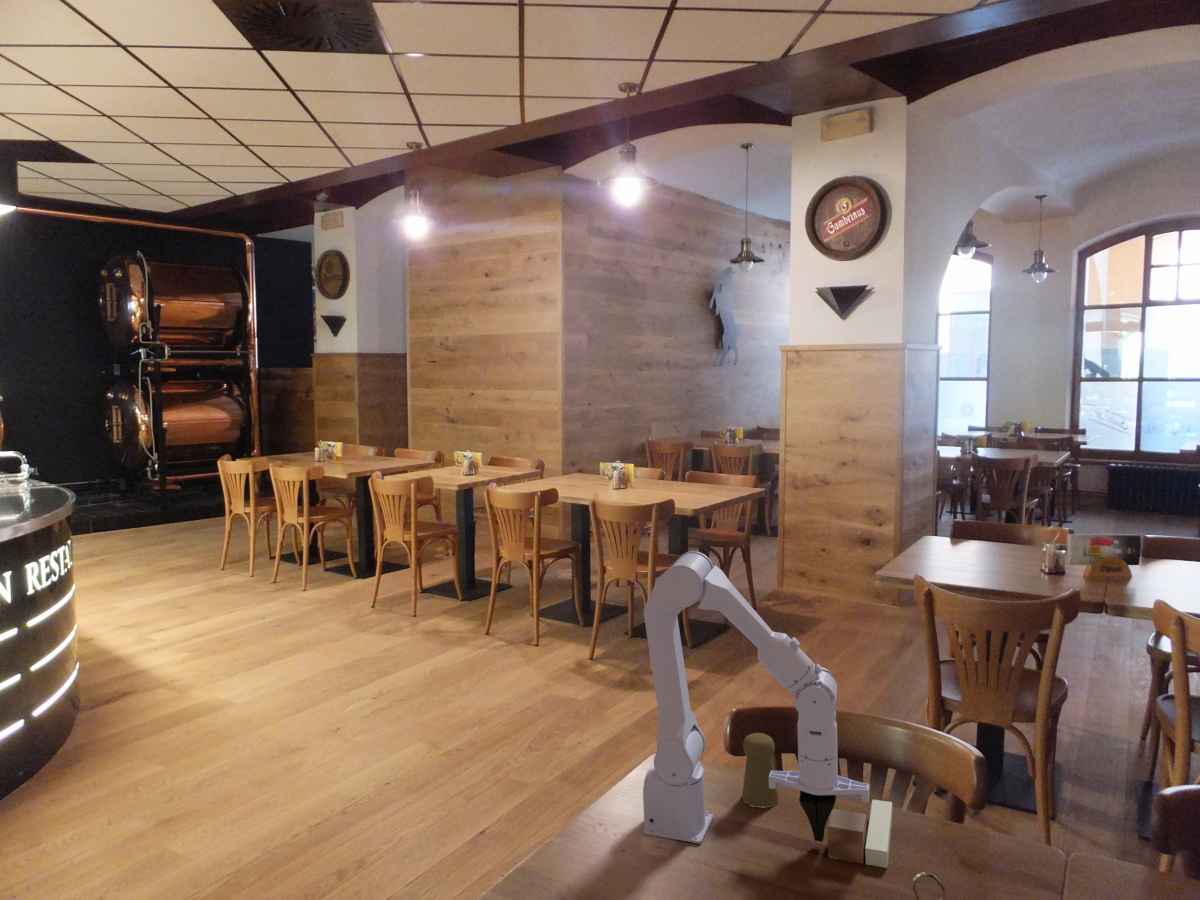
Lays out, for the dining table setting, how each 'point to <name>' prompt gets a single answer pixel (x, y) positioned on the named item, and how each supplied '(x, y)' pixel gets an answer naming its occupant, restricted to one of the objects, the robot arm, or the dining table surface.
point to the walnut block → (847, 835)
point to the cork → (758, 770)
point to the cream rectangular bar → (879, 834)
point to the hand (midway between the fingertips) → (819, 837)
